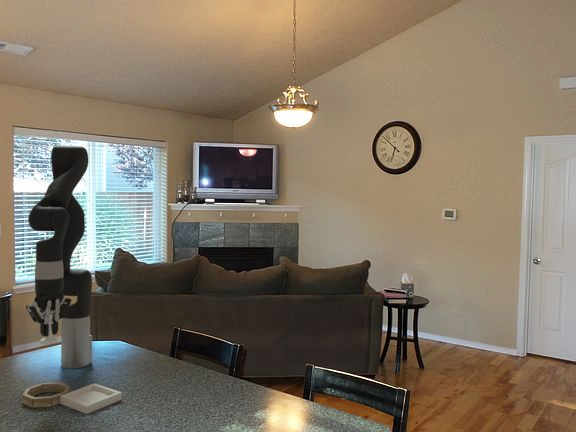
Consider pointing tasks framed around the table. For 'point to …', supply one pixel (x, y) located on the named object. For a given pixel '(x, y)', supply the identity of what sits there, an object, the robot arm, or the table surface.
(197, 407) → the table surface
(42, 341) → the chess piece
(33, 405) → the holder ring
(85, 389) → the tray
